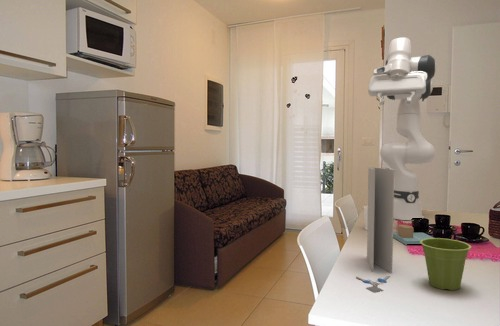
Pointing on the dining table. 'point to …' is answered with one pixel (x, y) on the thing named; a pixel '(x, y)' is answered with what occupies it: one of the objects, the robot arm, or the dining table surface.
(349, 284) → the dining table surface
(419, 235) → the teal flat block
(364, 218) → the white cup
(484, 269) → the dining table surface
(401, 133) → the robot arm
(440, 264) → the plant pot
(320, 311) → the dining table surface
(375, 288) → the blue grey flat piece
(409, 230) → the stub
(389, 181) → the brochure
